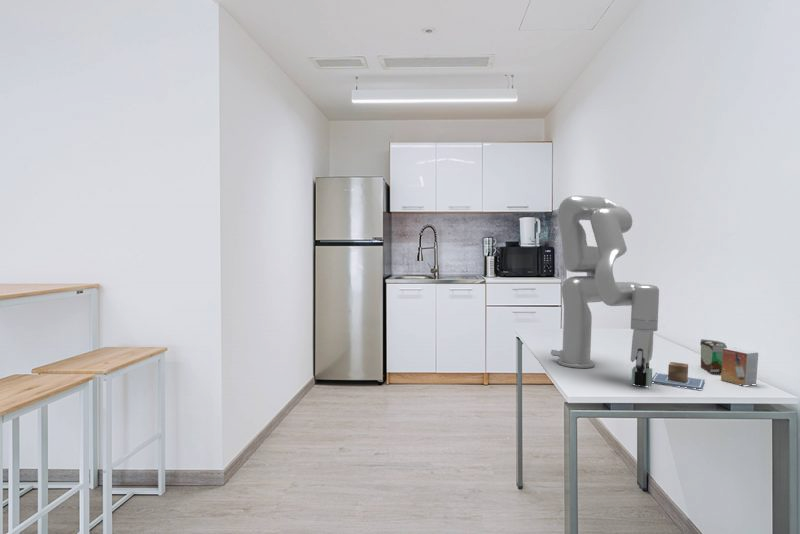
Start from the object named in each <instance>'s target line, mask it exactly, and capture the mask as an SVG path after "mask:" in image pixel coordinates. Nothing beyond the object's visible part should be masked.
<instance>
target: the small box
mask: <svg viewBox="0 0 800 534" xmlns="http://www.w3.org/2000/svg"><path fill="white" fill-rule="evenodd" d="M758 363H759V352H758V351H752V350H747V349H741V348H737V347H727V348H724V349H723V358H722V372H721V376H720V380H721V381H723V380H724V381H723V382H727V381H728V382H727V383H731V382H732V383H731V384H734V383H737V384H741V385H752V384H756V385H757V377H758ZM737 384H736V385H737Z"/></svg>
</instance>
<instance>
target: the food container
mask: <svg viewBox="0 0 800 534" xmlns="http://www.w3.org/2000/svg"><path fill="white" fill-rule="evenodd" d="M724 348H728V347H727V345H726V343H725V342H723V341H719V340H712V339H700V368H701V369H702V370H703V369H704V370H703V371H705V372H706V371H707V372H706V373H708V374H709V375H720V373H721V372H722V358H723V349H724Z"/></svg>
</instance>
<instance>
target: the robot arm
mask: <svg viewBox="0 0 800 534" xmlns="http://www.w3.org/2000/svg"><path fill="white" fill-rule="evenodd" d="M556 216H557V223H558V224H557V225H558V228H559V232H560V237H561V248H562V259H563V260H562V261H563V265H564V269H565V270H566V271H568V272H571V273H585V274H586V275H579V276H578V275H575V276H571V277H568V278H566V279H565V280H564V281H563V282H562V285H561V295H562V302H563V325H562V327H563V329H562V330H563V331H562V349H560V350H556V349H551V351H550V355H551V356H552V357H558V359H557V363H558V364H559V366H564V367H566V368H567V367H568V368H573V369H574V368H575V369H576V368H577V369H589V368H594V367H595V366H596V365H595V364H596V363H595V361H593V360H591V348H592V341H591V340H592V320H593V319H592V317H593V316H592V312H591V309H590V306H589V305H588V303H600V302H602V303H604V304H605V305H607V306H609V307H623V306H624V307H628V306H631V308H630V309H631V311H630V312H631V313H630V314H631V315H630V329H631V330H632V331H633V332H632V340H631V349H630V351H631V352H630V362H631V363H633V362H634V363H635V366H636V367H635V366H634V367H635V380H634V384H635V385H640V386H646V373H645V372H646V368H650V361H651V360H652V359H653V358H652V357H653V352H654V351H653V350H654V332H658V329H659V328H658V327H659V304H660V303H659V302H660V290H659V287H658V286H656V285H653V284H642V283H637V282H633V281H627V282H626V281H619V282H617V281H616V280H615V277H614V269H613V267H614V263H615V261H616V260H617V259H618V258H620V257H622V256H623V255H625V253H626V252H627V249H628V248H627V245H626V241H625V238H624V236H623V235H624V233H627V232H628V231H630V229H631V228H632V226H633V217H632V214H631V213H630V212H629V210H628V209H625V208H624V207H622V206H621V205H618V204H617V203H615V202H613V201H611V200H609V199H608V198H605V197H602V196H589V195H571V196H568V197H566V198H564V199H563V200H562V201H561V203H560V204H559V206H558V209H557V213H556ZM580 221H590V225H591V229H592V232H593V236H594V240H595V243H596V246H591V245H590V246H589V245H588V242H587V233H586V230H585V228H584V227H583V225H582V223H580Z"/></svg>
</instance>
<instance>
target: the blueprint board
mask: <svg viewBox="0 0 800 534" xmlns="http://www.w3.org/2000/svg"><path fill="white" fill-rule="evenodd" d="M704 381H706V380H705V379H703V378H702V379H701V378H696V377H689V376H688V380H687V382H686V383H682V382H675V381H668V373H660V372H655V373H654V375H653V376H652V382H654V383H660V384H666V385H665V386H667V385H673V386H672V387H674V386H680V387H687V388H696V389H702V390H703V388H702V387H704V385H705V382H704ZM654 383H653V384H654ZM660 384H659V385H660ZM703 384H704V385H703ZM680 387H679V388H680ZM687 388H686V389H687Z"/></svg>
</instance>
